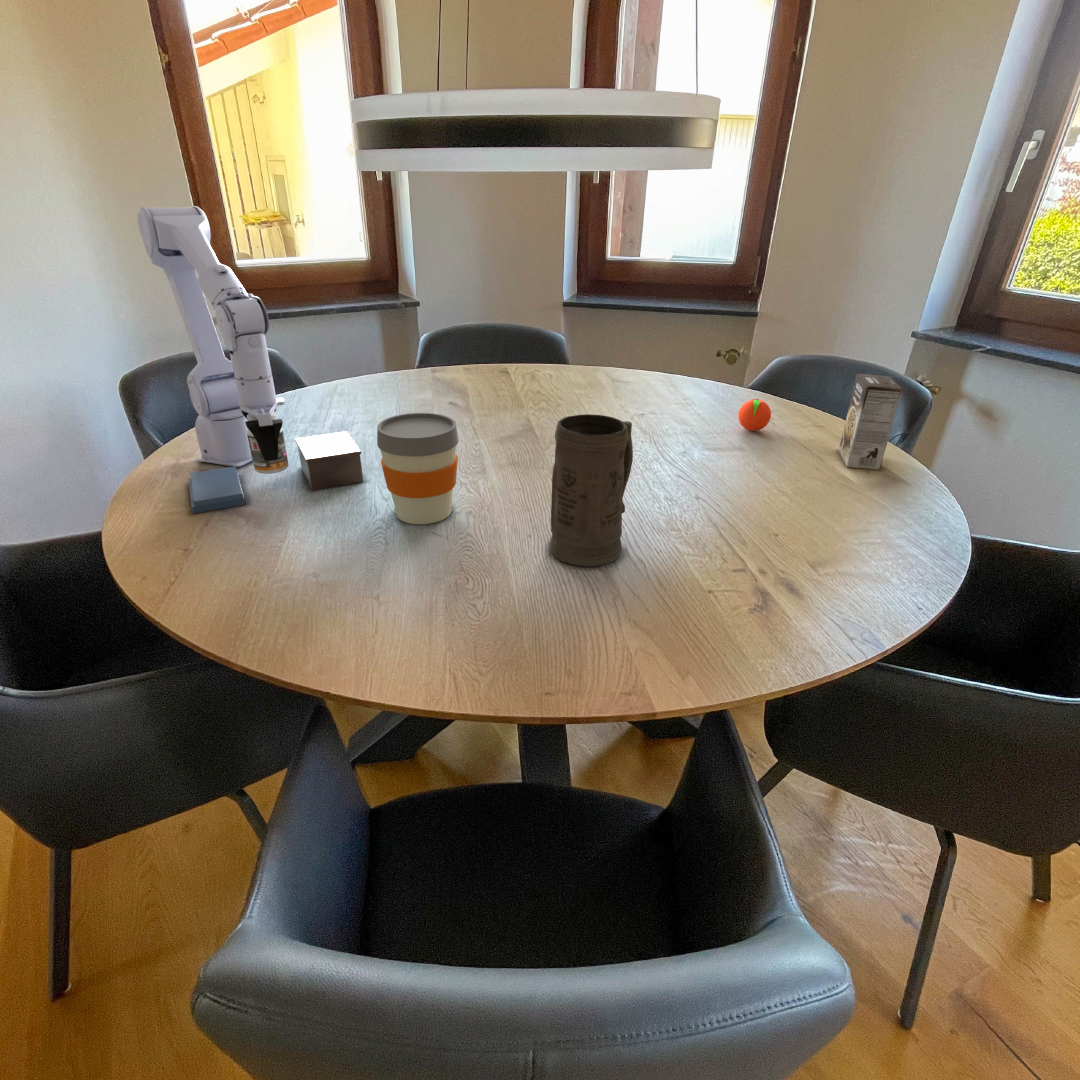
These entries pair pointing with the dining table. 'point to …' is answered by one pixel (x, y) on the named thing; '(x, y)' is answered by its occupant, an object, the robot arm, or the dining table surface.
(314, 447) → the walnut box
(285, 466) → the pill bottle
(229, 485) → the blue flat block
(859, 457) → the coffee box
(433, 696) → the dining table surface
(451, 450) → the reusable coffee cup
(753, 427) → the clementine
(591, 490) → the beer stein
